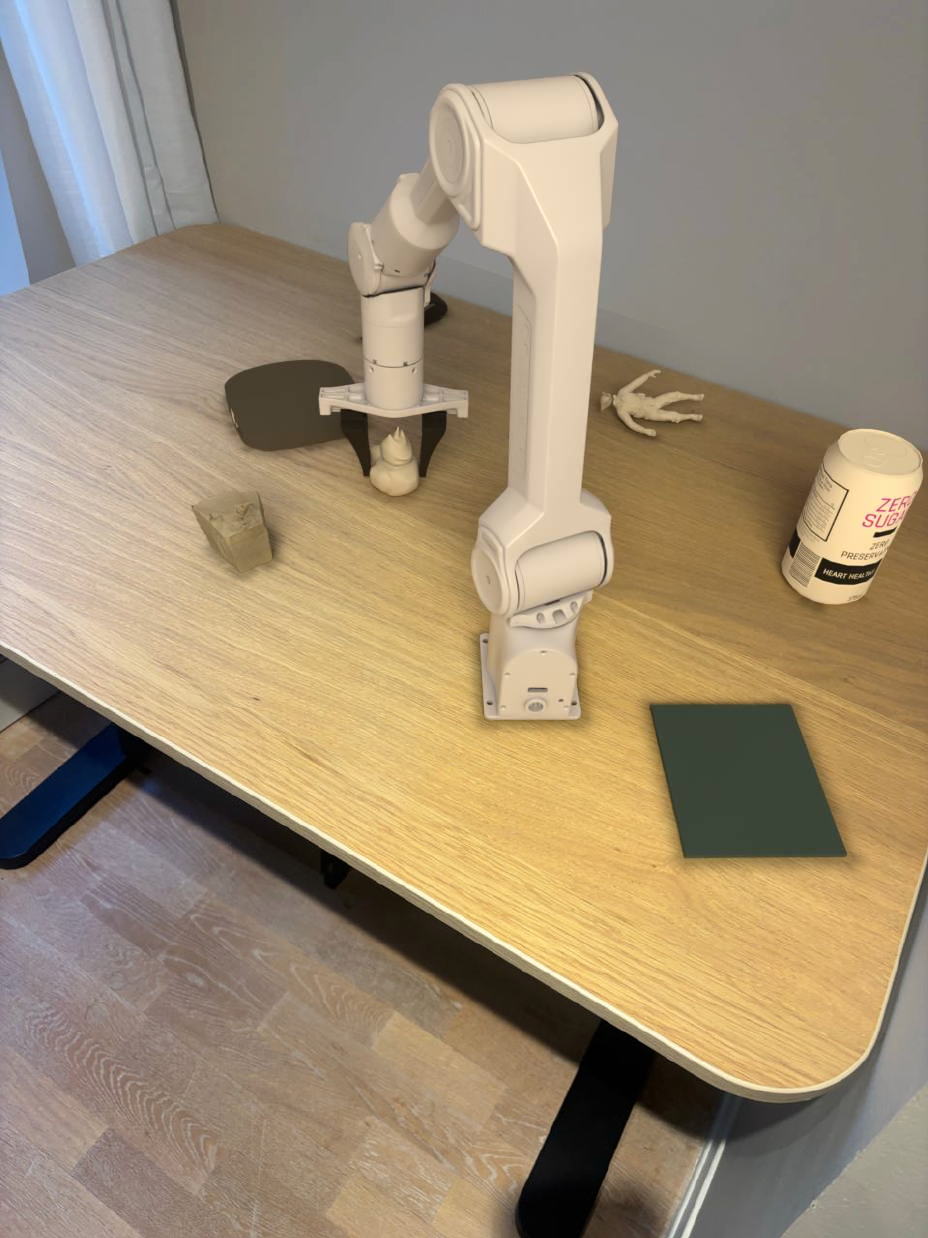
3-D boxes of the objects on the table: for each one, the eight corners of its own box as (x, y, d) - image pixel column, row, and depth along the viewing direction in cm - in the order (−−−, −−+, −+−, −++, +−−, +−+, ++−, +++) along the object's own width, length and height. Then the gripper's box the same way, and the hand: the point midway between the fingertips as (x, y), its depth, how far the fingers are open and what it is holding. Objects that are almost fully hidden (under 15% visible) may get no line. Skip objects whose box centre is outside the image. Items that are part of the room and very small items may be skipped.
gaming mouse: (345, 331, 117) (343, 303, 114) (424, 298, 124) (424, 270, 121) (377, 349, 114) (376, 320, 111) (456, 313, 121) (457, 286, 119)
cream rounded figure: (393, 511, 90) (391, 446, 84) (354, 481, 93) (350, 417, 88) (433, 492, 93) (434, 427, 87) (394, 463, 96) (393, 399, 90)
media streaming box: (374, 435, 100) (373, 412, 97) (246, 458, 95) (242, 435, 93) (339, 372, 109) (337, 350, 107) (221, 391, 105) (217, 369, 103)
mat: (845, 857, 64) (847, 854, 64) (684, 858, 63) (685, 855, 63) (789, 707, 74) (791, 704, 73) (649, 707, 73) (650, 704, 73)
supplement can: (799, 541, 89) (852, 414, 79) (878, 578, 86) (943, 449, 75) (764, 581, 85) (815, 452, 74) (846, 621, 81) (911, 492, 71)
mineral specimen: (178, 557, 83) (177, 481, 78) (258, 537, 88) (262, 465, 83) (216, 597, 79) (218, 521, 74) (298, 574, 84) (304, 501, 80)
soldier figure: (701, 444, 103) (616, 426, 98) (675, 450, 107) (593, 433, 102) (706, 378, 103) (622, 357, 98) (680, 388, 108) (598, 368, 103)
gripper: (468, 333, 85) (463, 450, 95) (319, 330, 84) (329, 448, 94) (471, 370, 80) (465, 490, 90) (312, 367, 79) (323, 488, 89)
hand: (395, 471), depth 92 cm, fingers closed on cream rounded figure, 5 cm apart
